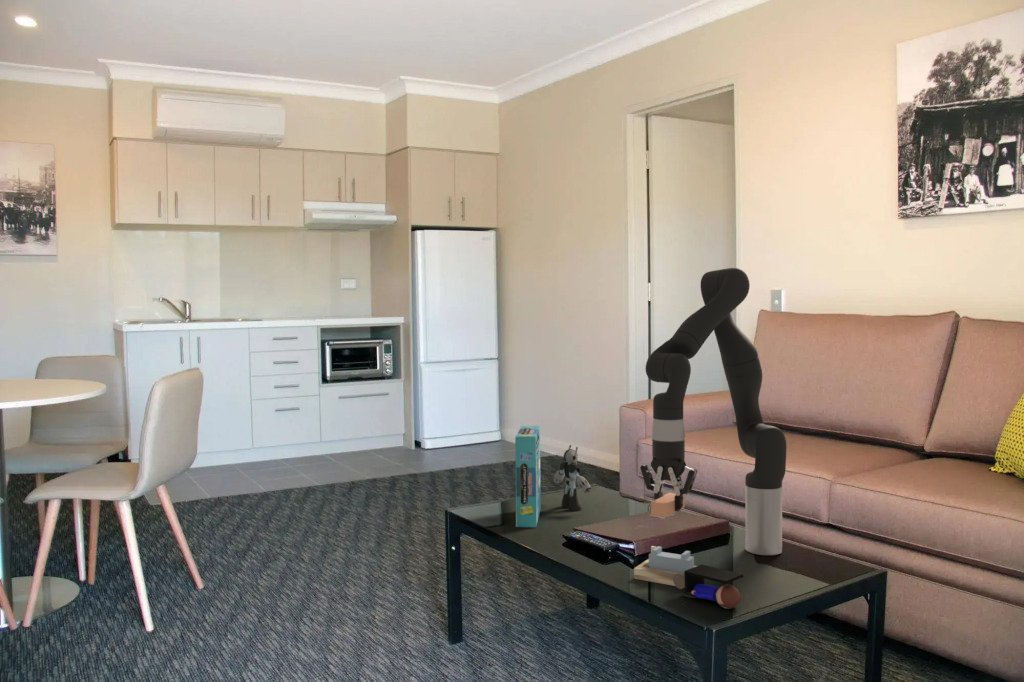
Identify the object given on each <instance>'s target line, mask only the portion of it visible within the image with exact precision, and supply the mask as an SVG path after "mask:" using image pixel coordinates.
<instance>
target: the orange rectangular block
mask: <svg viewBox="0 0 1024 682" xmlns="http://www.w3.org/2000/svg"><path fill="white" fill-rule="evenodd" d="M675 495H676V494H675V492H674V493H673V492H668V493H665V494H663V496H662V497H660V498H658V499H656V500H654V499H653V501H651V502H650V509H651V511H650V512H651V513H650V515H651V516H655V517H656V516H657V517H665V518H668V517H670V516H672V515H674V514H675V513H677V512H678V511H675ZM685 507H686V494H683V507H682V508H681V510H682V509H684V508H685Z"/></svg>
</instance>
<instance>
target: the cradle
mask: <svg viewBox="0 0 1024 682" xmlns="http://www.w3.org/2000/svg"><path fill="white" fill-rule="evenodd" d="M696 566H697V565H694V567H696ZM633 573H634V574H633V578H634V579H635V580H640V581H645V582H649V583H650V582H651V583H657V584H661V585H668V586H673V587H676V586H675V584H674V582H673V576H674V575H675V574H677V573H676V572H670V571H664V570H658V569H652V568H649V558H647V559H646V560H644V561H642V562H641V563H640V564H638V565H637V566H635V567H634V568H633Z"/></svg>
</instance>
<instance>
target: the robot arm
mask: <svg viewBox="0 0 1024 682" xmlns="http://www.w3.org/2000/svg"><path fill="white" fill-rule="evenodd" d="M750 286H751V285H750V279H749V277H748V275H747V273H746V271H744V269H742V268H740V267H726V268H723V269H716V270H710V271H707V272H704V274H703V275H702V276H701V279H700V293H701V297H702V300H703V304H704V305H703V306H701V308H699V309H697V310H696V311H695V312H693V313H692V314H690V316H688V317H687V318H686V319H685V320H684V321H683V322H682V323H681V324H680V325H679V327H678V329H677V330H676V331H675V332H674V333H673V335H672V337H671V338H669V339H668V340H667V341H665V342H664V343H662V344H661V345H660V346H659V347H657V348H655V350H654V351H652V353H650V355H649V357H648V358H647V361H646V363H645V374H646V377H648V379H649V380H651V381H653V382H655V383H663V384H664V383H666V384H668V387H667V389H666V391H664V392H659V393H656V394H655V395H654V397H653V399H652V400H653V401H652V426H651V427H652V428H651V429H652V431H651V434H652V435H651V439H652V440H651V441H652V442H651V443H652V445H651V449H652V450H651V451H652V452H651V453H652V455H651V456H652V459H651V462H650V463H645V464H642V465H640V472H641V475H642V478H643V481H644V484H645V486H646V487H645V488H646V489H647V490H649V491H652V492H653V493H654V495H653V501H654V500H656V499H658V498H660V497H662V496H664V494H663V493H664V492H663V487H664V484H665V482H666V481H669V482H671V486H672V487H673V489H674V493H675V494H676V495H675V511H677V512H680V511H681V510H682V509H683V508H682V507H683V494H684V495H687V494H688V493H690V492H691V491H692V490H693V489H692V488H693V486H694V482H695V480H696V477H697V473H698V469H696V468H691V467H689V466H687V464H686V462H685V456H686V455H685V452H686V451H685V445H686V444H685V443H686V441H685V440H686V439H685V438H686V432H685V429H686V428H685V423H684V421H685V420H684V401H685V396H686V393H687V388H688V384H689V381H690V377H691V372H692V371H691V369H692V367H691V362H690V361H689V360H691V359H693V358H694V357H695V356H696V355H697V353H698V352H699V351H700V349H702V346H703V345H704V343H706V341H707V339H708V338H709V337H710V335H711V334H712V333H713V332H714V335H715V338H716V342H717V345H718V349H719V354H720V357H721V364H722V368H723V371H724V375H725V379H726V383H727V385H728V389H729V390H728V391H729V394H730V398H731V402H732V406H733V410H734V418H735V423H736V430H737V437H738V443H739V446H740V448H741V450H742V452H743V453H744V454H745V455H746V456H748V457H750V458H754V469H753V470H752V471H749V472H748V473H747V474H746V475H745V479H744V483H745V487H744V488H745V489H744V490H745V496H744V497H745V503H744V504H745V536H744V537H745V539H744V540H745V542H744V543H745V551H746V552H748V553H750V554H753V555H759V556H776V555H779V554H782V552H783V480H784V478H785V474H786V469H787V467H786V465H787V438H786V436H785V433H784V432H783V431H782V430H781V429H780V428H779V427H776V426H773V425H769V424H765V422H764V420H763V417H762V413H761V409H760V403H759V397H760V392H761V387H762V385H763V384H762V383H763V369H762V365H761V361H760V356H759V354H758V351H757V348H756V347H755V345H754V344H753V342H752V340H750V338H749V337H748V336H747V335H746V334H745V333H744V332H743V331H742V330H741V328H739V326H738V325H737V323H736V322H735V321H734V318H733V317H732V314H731V313H732V312H734V310H735V309H737V307H739V305H741V303H743V302H744V300H745V299H746V298H747V297H748V294H749V292H750V291H749V290H750ZM652 471H654V473H655V476H656V477H655V479H654V477H653V474H652ZM684 472H685V477H686V478H685V479H686V480H685V482H684V485H683V479H682V475H683V474H684ZM681 508H682V509H681Z"/></svg>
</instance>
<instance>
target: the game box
mask: <svg viewBox="0 0 1024 682" xmlns="http://www.w3.org/2000/svg"><path fill="white" fill-rule="evenodd" d="M540 427H541V426H539V425H522V426H520V428H519V430H518V432H517V434H515V435H516V436H515V439H514V440H515V445H514V446H515V447H514V448H515V527H516V528H537V525H538V522H539V518H540V513H541V511H542V509H541V508H542V504H541V503H542V501H541V500H542V499H541V498H542V495H541V494H542V493H541V489H542V488H541V487H542V486H541V485H542V483H541V428H540Z"/></svg>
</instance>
